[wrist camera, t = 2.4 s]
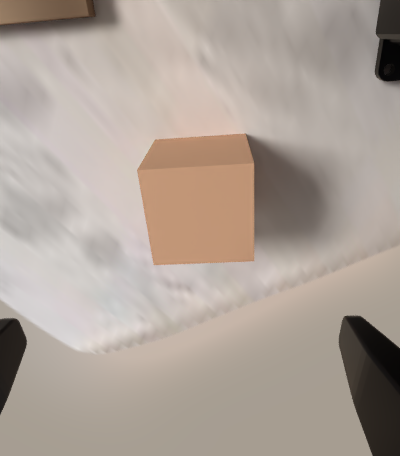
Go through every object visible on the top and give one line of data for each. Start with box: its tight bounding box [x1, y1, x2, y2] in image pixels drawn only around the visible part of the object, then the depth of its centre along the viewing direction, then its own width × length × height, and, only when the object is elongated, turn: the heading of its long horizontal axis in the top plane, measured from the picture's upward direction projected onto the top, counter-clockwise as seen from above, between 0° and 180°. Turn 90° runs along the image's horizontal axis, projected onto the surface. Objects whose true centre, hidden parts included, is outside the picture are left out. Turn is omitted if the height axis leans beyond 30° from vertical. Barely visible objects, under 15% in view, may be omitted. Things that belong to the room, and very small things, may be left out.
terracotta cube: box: [137, 134, 254, 265], centre depth 18 cm, size 5×5×5 cm
